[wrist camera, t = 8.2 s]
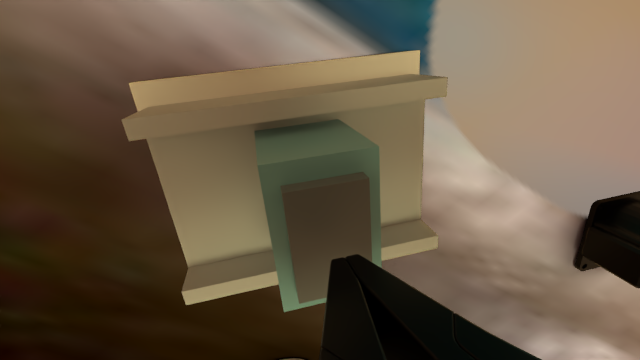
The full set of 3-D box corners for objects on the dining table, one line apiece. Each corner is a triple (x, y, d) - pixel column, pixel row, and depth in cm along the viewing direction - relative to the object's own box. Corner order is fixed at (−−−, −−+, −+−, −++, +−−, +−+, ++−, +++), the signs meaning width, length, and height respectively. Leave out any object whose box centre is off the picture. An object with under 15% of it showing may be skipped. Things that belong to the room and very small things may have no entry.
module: (254, 130, 14) (257, 172, 9) (338, 119, 15) (386, 151, 10) (274, 241, 16) (285, 324, 11) (346, 227, 17) (388, 299, 12)
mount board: (410, 50, 17) (460, 48, 13) (408, 224, 21) (444, 262, 17) (136, 81, 15) (94, 90, 11) (195, 269, 19) (181, 324, 15)
